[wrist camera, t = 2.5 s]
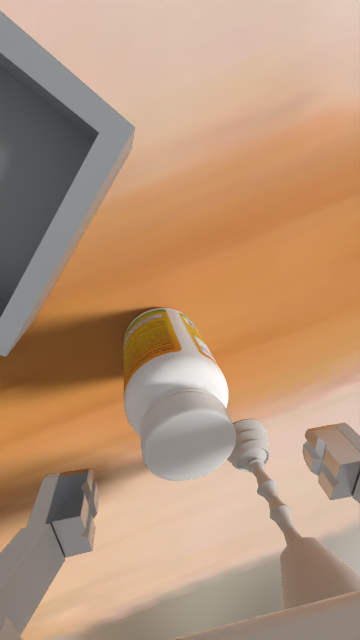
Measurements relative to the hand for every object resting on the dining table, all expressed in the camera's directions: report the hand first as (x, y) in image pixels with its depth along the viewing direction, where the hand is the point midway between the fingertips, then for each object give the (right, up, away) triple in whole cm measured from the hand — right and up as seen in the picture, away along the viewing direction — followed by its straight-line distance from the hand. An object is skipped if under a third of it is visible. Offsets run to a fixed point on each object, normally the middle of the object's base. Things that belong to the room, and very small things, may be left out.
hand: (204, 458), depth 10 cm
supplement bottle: (-2, +4, +10) cm, 11 cm away
